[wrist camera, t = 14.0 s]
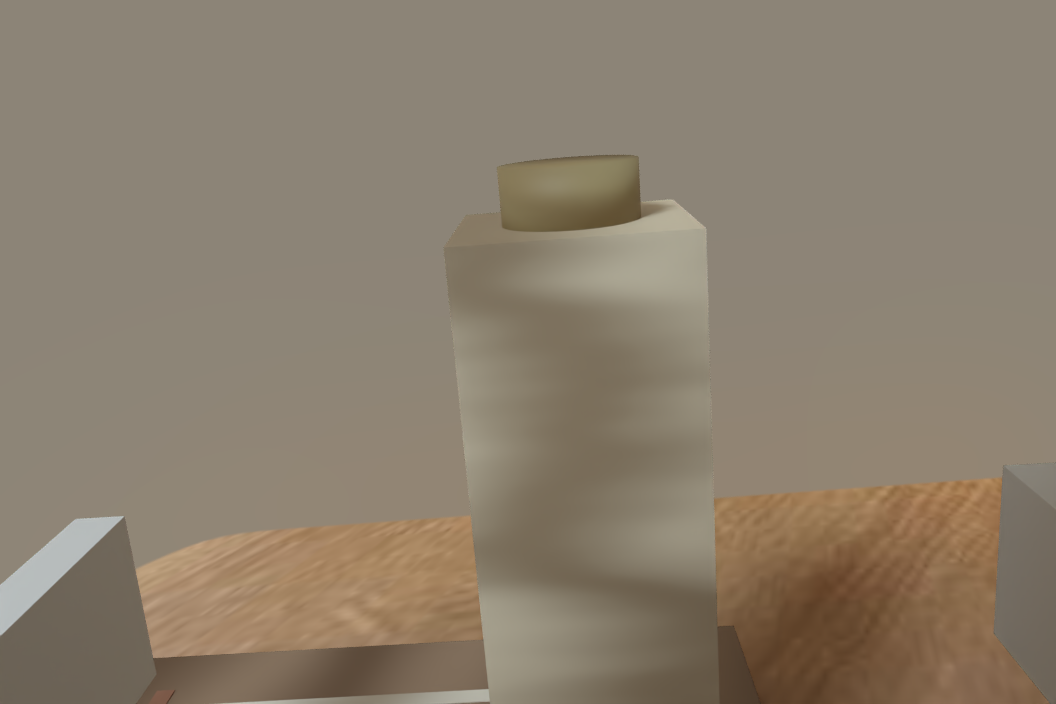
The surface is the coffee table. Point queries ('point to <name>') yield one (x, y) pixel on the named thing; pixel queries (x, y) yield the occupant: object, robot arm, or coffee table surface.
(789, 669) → the coffee table surface
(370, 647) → the grey flat plate
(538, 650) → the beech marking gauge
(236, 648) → the coffee table surface
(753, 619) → the coffee table surface
